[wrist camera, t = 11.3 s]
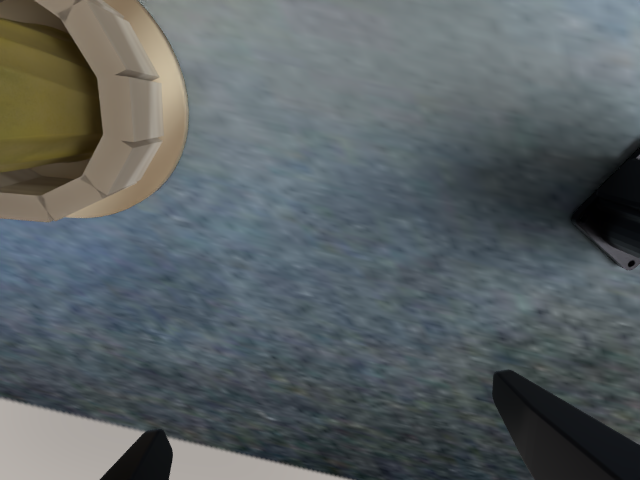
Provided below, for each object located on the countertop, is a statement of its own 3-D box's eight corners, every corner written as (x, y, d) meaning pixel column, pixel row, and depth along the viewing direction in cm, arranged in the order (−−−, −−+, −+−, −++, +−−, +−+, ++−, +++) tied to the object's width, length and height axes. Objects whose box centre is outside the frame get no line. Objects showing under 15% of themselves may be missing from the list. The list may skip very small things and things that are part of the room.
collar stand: (232, 71, 17) (213, 59, 13) (125, 251, 21) (82, 287, 16) (-24, -127, 14) (-158, -226, 10) (-105, 124, 17) (-233, 129, 13)
